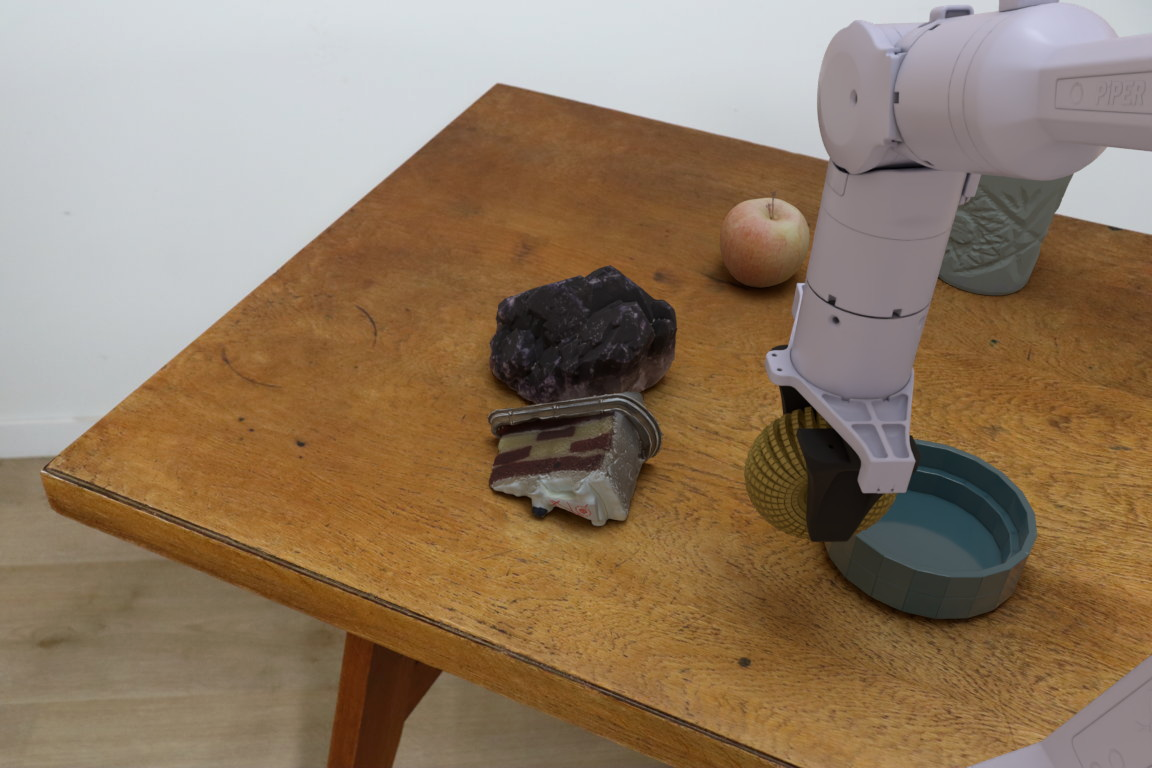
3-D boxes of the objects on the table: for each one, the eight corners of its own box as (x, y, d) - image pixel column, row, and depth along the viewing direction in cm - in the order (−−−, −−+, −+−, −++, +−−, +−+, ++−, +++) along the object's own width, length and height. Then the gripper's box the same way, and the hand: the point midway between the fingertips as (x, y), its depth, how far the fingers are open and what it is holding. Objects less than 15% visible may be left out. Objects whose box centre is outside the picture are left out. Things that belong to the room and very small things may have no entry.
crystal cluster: (487, 325, 88) (476, 219, 81) (656, 309, 89) (658, 203, 82) (496, 443, 78) (483, 334, 71) (686, 425, 79) (691, 315, 72)
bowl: (1048, 623, 65) (1070, 575, 62) (847, 626, 64) (861, 578, 61) (977, 484, 74) (993, 438, 72) (801, 485, 73) (812, 439, 71)
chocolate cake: (446, 504, 71) (570, 453, 63) (477, 416, 75) (596, 357, 67) (555, 572, 75) (683, 533, 67) (578, 485, 79) (702, 438, 71)
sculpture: (878, 512, 62) (911, 398, 57) (886, 564, 58) (922, 448, 54) (734, 496, 62) (755, 382, 57) (735, 547, 59) (756, 431, 54)
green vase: (924, 291, 94) (960, 161, 87) (913, 233, 102) (946, 110, 95) (1047, 306, 93) (1094, 175, 86) (1027, 246, 101) (1068, 123, 94)
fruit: (722, 249, 98) (734, 166, 93) (805, 264, 96) (822, 181, 92) (706, 293, 92) (718, 207, 87) (795, 309, 91) (812, 223, 86)
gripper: (752, 208, 56) (719, 416, 65) (821, 379, 45) (770, 606, 53) (888, 210, 57) (838, 416, 65) (989, 379, 45) (913, 604, 54)
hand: (816, 502), depth 59 cm, fingers closed on sculpture, 4 cm apart
